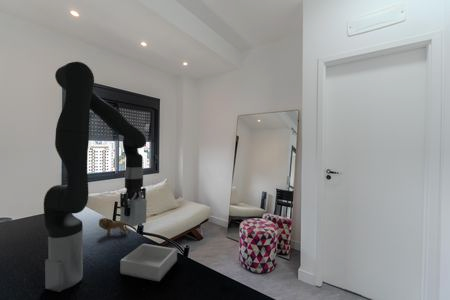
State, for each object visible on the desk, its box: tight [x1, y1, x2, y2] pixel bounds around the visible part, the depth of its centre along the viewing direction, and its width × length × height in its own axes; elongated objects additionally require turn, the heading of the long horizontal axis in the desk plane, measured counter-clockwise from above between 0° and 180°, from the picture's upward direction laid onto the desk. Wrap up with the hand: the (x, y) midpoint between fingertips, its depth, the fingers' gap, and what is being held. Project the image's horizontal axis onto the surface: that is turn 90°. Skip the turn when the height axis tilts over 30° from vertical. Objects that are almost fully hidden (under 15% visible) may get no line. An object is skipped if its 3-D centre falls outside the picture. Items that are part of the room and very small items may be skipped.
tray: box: [119, 243, 178, 282], centre depth 79 cm, size 13×16×5 cm
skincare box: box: [119, 198, 148, 227], centre depth 92 cm, size 10×6×10 cm, turn 59°
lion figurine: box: [98, 217, 131, 236], centre depth 107 cm, size 15×5×9 cm, turn 109°
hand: (133, 213), depth 92 cm, fingers closed on skincare box, 7 cm apart
